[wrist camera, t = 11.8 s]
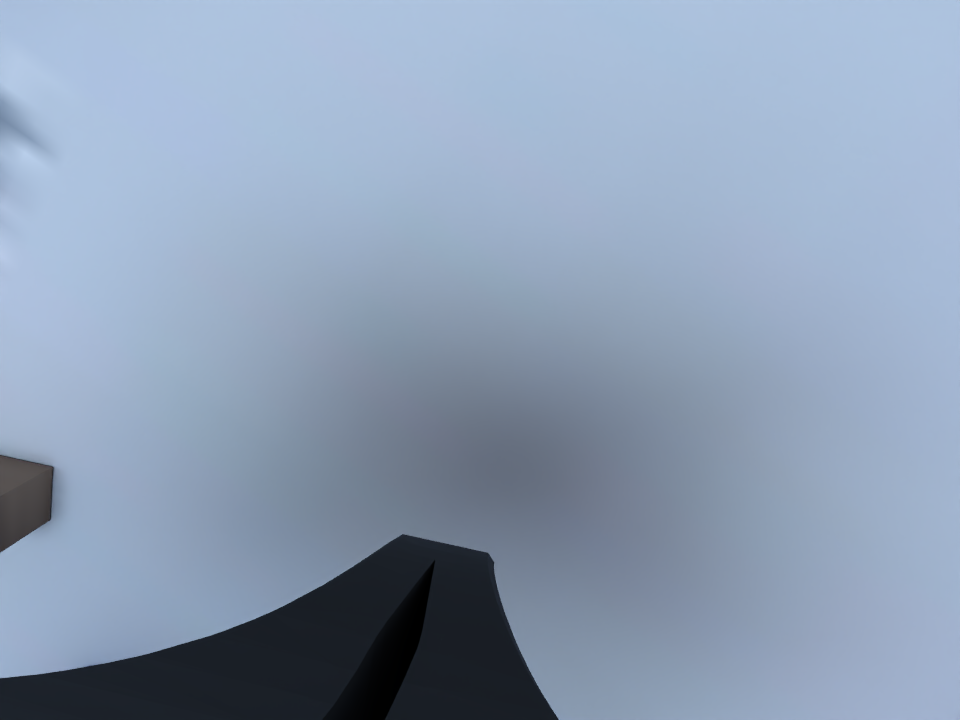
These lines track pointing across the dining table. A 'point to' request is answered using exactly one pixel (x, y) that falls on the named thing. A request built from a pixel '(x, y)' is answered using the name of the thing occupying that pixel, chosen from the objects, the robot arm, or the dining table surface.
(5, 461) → the walled channel
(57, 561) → the dining table surface
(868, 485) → the dining table surface
